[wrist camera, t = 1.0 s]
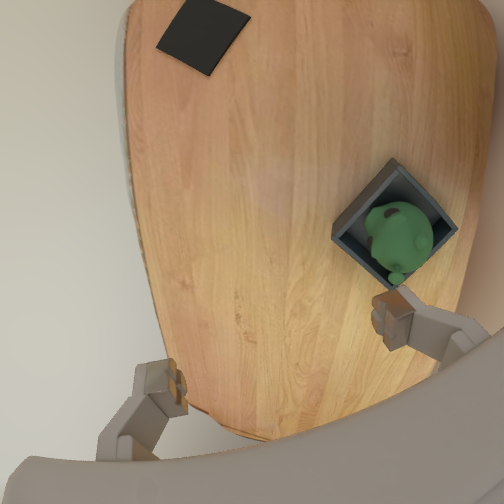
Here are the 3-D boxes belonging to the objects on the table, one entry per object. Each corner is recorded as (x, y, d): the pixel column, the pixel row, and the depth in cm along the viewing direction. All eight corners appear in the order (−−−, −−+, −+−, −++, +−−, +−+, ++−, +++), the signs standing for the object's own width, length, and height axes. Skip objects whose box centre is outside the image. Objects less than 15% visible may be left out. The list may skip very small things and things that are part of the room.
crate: (392, 157, 28) (399, 164, 24) (446, 214, 29) (458, 229, 25) (332, 223, 34) (330, 239, 30) (387, 272, 34) (391, 292, 31)
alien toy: (379, 177, 29) (394, 204, 21) (432, 212, 29) (461, 250, 20) (349, 228, 33) (350, 271, 24) (401, 258, 33) (415, 308, 24)
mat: (193, -7, 25) (192, -9, 24) (251, 17, 25) (249, 16, 25) (157, 48, 29) (155, 47, 29) (209, 76, 30) (207, 76, 29)
